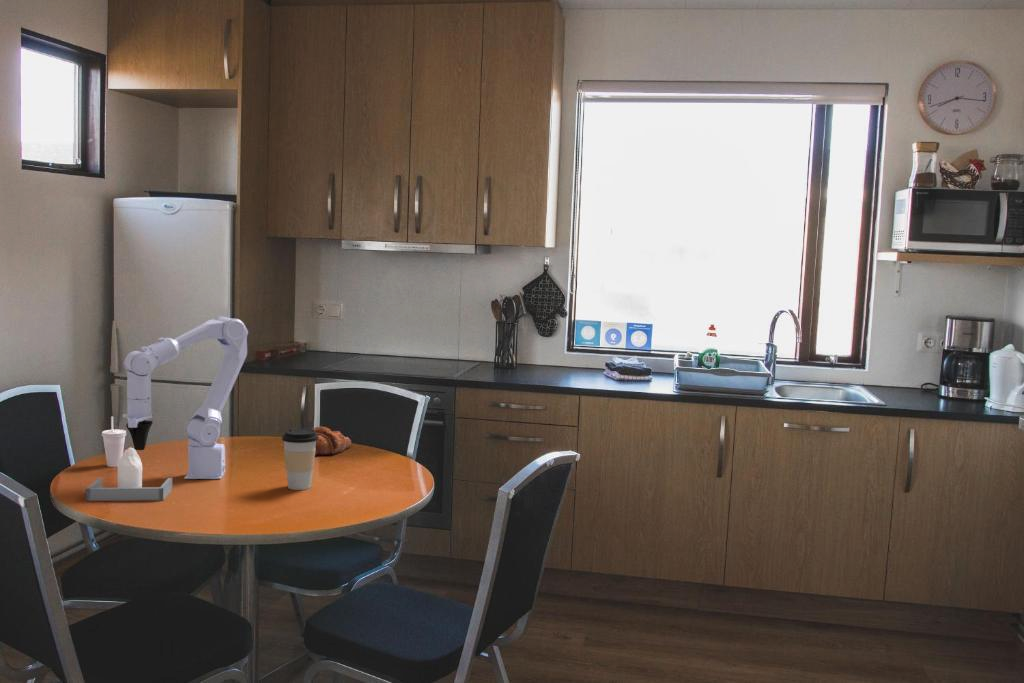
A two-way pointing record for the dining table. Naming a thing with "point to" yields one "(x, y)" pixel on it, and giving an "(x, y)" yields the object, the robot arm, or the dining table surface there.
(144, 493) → the box
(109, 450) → the smoothie
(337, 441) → the pastry
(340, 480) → the dining table surface
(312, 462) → the coffee cup
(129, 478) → the white rounded-top container
